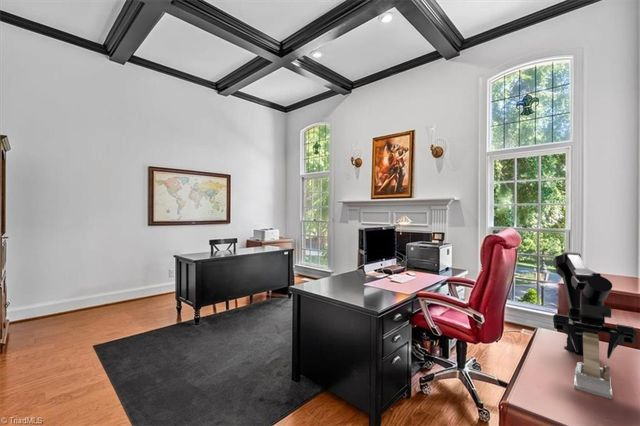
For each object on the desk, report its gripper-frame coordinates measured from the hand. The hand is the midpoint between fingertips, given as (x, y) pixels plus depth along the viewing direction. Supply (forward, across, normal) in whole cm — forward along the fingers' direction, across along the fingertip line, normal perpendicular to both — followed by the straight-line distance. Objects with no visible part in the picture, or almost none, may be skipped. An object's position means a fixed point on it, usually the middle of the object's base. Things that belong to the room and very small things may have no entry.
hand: (592, 354), depth 89 cm
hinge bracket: (+5, 0, +7) cm, 9 cm away
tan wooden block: (+5, 0, +7) cm, 8 cm away
